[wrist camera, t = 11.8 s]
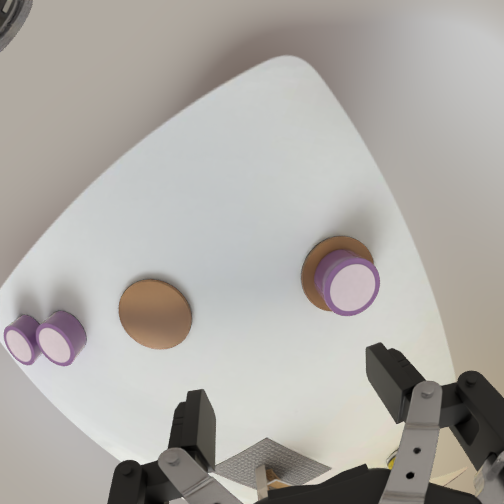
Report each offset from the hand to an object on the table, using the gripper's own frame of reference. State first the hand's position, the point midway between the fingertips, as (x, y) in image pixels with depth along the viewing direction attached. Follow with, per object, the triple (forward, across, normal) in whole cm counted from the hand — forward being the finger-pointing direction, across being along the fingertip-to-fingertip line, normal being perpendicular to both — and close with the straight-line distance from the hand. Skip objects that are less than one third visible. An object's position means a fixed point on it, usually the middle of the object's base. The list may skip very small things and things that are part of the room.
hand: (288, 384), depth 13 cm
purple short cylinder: (+12, -7, +1) cm, 14 cm away
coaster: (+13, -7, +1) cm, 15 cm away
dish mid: (+13, +21, 0) cm, 25 cm away
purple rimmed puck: (+13, +27, 0) cm, 30 cm away
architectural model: (+13, +5, +30) cm, 33 cm away
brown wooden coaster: (+13, +10, 0) cm, 16 cm away
